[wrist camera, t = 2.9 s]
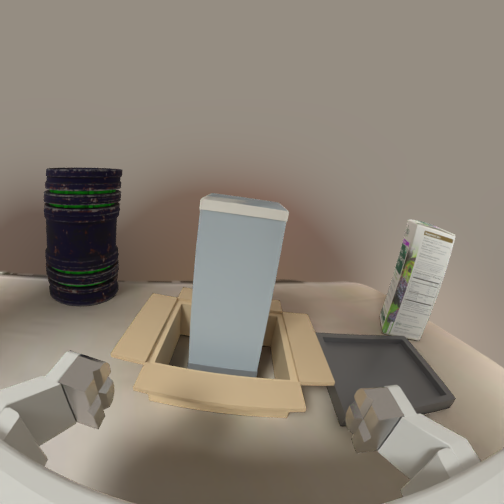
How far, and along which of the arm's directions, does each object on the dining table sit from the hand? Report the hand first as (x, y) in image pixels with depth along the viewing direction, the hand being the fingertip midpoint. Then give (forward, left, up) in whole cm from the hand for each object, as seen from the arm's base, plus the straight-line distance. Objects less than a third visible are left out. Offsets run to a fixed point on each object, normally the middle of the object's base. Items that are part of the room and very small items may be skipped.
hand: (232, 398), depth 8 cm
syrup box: (+23, +22, -9) cm, 33 cm away
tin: (0, +12, -9) cm, 15 cm away
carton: (0, +12, -9) cm, 15 cm away
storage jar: (-19, +22, -9) cm, 31 cm away
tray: (+15, +12, -9) cm, 21 cm away
